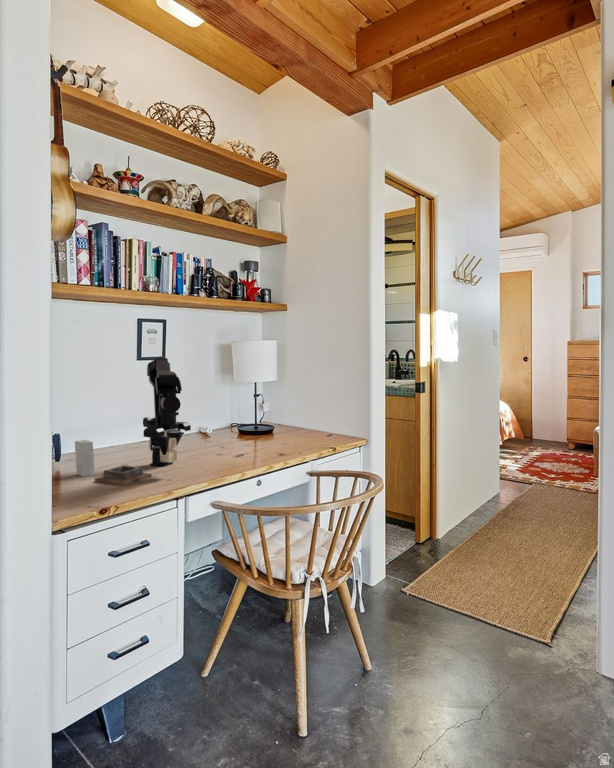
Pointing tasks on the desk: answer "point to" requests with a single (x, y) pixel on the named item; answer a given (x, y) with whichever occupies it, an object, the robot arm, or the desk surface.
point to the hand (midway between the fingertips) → (168, 453)
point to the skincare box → (84, 458)
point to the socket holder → (123, 475)
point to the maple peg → (170, 452)
